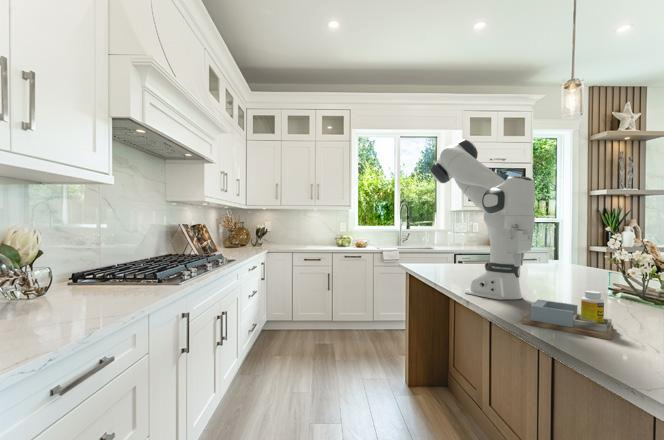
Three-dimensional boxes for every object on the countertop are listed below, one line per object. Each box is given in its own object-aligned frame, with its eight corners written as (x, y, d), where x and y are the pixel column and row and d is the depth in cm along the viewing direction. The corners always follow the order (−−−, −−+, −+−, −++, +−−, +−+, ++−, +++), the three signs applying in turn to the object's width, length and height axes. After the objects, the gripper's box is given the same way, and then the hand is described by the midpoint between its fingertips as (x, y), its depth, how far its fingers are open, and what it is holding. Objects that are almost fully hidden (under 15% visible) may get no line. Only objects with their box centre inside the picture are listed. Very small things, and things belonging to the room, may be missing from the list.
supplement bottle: (599, 329, 103) (599, 294, 103) (577, 325, 108) (578, 290, 108) (606, 326, 106) (607, 292, 106) (585, 322, 111) (586, 289, 111)
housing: (530, 320, 112) (530, 305, 112) (537, 312, 121) (538, 299, 121) (572, 327, 105) (573, 312, 105) (577, 319, 114) (577, 304, 114)
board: (522, 323, 112) (522, 313, 112) (531, 314, 123) (531, 305, 123) (611, 339, 98) (611, 328, 98) (613, 328, 109) (613, 317, 109)
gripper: (522, 224, 109) (521, 270, 110) (536, 224, 125) (535, 264, 125) (500, 224, 113) (499, 268, 114) (516, 224, 129) (515, 262, 129)
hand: (518, 266), depth 120 cm, fingers closed
